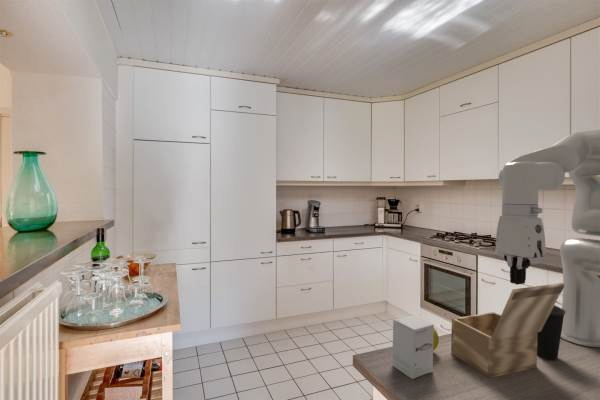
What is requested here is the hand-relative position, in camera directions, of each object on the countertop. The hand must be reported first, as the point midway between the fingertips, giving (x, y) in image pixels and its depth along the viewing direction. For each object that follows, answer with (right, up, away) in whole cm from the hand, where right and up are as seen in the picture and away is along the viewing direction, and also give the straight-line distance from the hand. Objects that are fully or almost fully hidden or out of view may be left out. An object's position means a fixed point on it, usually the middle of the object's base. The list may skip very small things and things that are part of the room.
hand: (517, 283), depth 82 cm
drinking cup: (+14, -23, +9) cm, 29 cm away
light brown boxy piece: (-2, -23, +7) cm, 24 cm away
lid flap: (+1, -6, -2) cm, 7 cm away
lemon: (-18, -23, +11) cm, 32 cm away
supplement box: (-26, -23, +2) cm, 35 cm away
